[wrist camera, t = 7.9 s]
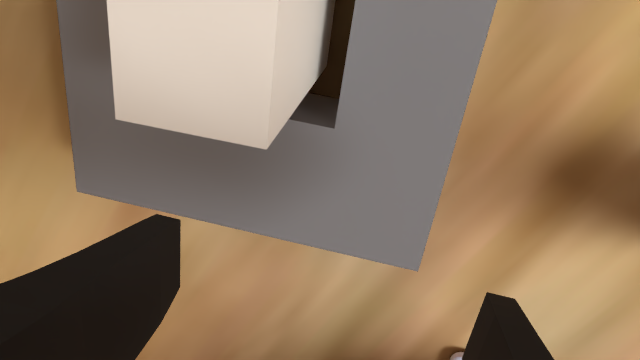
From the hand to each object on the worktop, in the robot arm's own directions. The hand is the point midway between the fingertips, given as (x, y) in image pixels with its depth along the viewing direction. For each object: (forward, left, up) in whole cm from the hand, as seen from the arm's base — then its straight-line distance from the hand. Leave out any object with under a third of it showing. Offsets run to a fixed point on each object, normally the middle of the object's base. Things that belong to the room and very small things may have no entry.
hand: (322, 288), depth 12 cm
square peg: (+4, +4, -10) cm, 12 cm away
